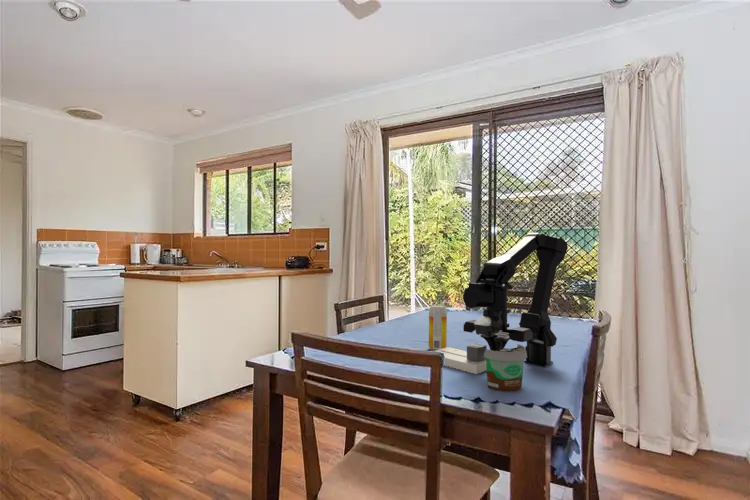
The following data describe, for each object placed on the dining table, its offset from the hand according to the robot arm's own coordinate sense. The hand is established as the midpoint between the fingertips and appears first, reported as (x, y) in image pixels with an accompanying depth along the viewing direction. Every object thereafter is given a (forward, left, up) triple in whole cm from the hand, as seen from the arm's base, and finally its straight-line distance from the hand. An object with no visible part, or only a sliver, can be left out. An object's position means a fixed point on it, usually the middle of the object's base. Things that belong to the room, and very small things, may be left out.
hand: (496, 360), depth 115 cm
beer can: (+27, -8, -4) cm, 28 cm away
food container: (-9, +9, -4) cm, 13 cm away
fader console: (+12, 0, -3) cm, 12 cm away
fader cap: (+6, 0, -1) cm, 6 cm away
